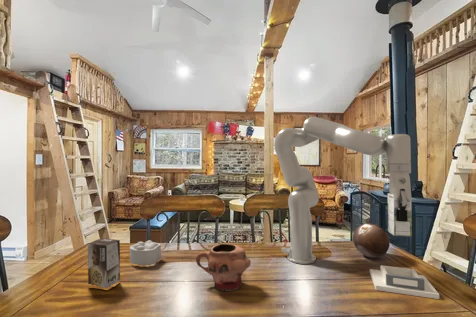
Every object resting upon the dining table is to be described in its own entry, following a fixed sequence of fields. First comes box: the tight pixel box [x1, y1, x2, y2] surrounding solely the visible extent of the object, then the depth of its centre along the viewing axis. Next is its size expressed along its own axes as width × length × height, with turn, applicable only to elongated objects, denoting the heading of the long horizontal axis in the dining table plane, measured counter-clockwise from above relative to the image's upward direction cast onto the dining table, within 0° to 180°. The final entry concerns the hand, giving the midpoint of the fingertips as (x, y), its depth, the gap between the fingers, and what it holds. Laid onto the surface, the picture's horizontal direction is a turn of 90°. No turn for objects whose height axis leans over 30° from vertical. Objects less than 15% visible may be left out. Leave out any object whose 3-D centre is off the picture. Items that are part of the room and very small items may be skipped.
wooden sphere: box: [352, 222, 391, 259], centre depth 117 cm, size 15×15×15 cm
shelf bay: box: [369, 264, 440, 300], centre depth 90 cm, size 18×14×5 cm
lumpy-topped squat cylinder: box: [129, 240, 162, 265], centre depth 113 cm, size 10×13×9 cm
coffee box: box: [87, 237, 121, 288], centre depth 92 cm, size 9×6×16 cm
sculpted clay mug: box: [195, 243, 252, 292], centre depth 91 cm, size 20×12×14 cm, turn 88°
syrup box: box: [387, 192, 413, 237], centre depth 91 cm, size 6×6×14 cm
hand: (399, 218), depth 91 cm, fingers closed on syrup box, 6 cm apart
